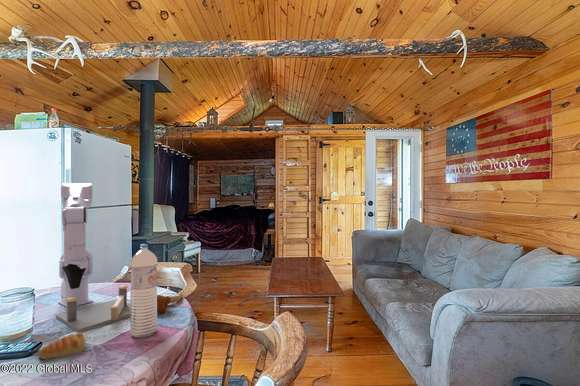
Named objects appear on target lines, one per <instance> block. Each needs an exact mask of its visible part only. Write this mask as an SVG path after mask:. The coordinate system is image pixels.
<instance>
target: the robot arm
mask: <svg viewBox="0 0 580 386" xmlns="http://www.w3.org/2000/svg"><path fill="white" fill-rule="evenodd" d="M60 198H61V204H62V207H64V208H63V209H62V210H61V222H62V223H61V224H62V231H63V254H62V255H61V256H60V259H59V260H58V263H59V268H58V270H59V271H58V273H59V274H58V276H59V278H60V279H62V282H61V284H60V300H58V301H57V303H59V304H60V305H62V306H64V307H66V308H67V302H66V299H67V298H71V297H77V298H78V300H77V307H78V306H80V305H85V304H89V303H92V302H94V299H91V298H89V278H90V277H89V276H92V275H93V272H94V271H93V254H92V252H89V251H88V250H86V248H87V247H86V244H87V243H86V239H87V238H86V237H87V236H86V232H87V231H86V230H87V229H86V227H87V226H86V225H87V223H88V208H91V207H92V204H93V183H92V182H91V183H89V182H88V183H80V182H78V183H73V182H72V183H68V182H63V183H61V185H60Z"/></svg>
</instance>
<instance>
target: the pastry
mask: <svg viewBox="0 0 580 386" xmlns="http://www.w3.org/2000/svg"><path fill="white" fill-rule="evenodd" d="M85 339H86V338H85V335H84V333H83V332H80V333H79V332H77V334H70V335H67V336H63V337H61V338H60V339H57V340H55V341H54V342H53V341H52V342H50V343H49V344H48V345H47V344H46V345H45V346H44V347H43V346H42V348H41V349H40V350H39V353H38V358H40V359H43V360H50V359H57V358H63V357H67V356H72V355H75V354H78V353H81V352H84V351H85V350H86V348H87V343H86V340H85Z"/></svg>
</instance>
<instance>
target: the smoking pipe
mask: <svg viewBox="0 0 580 386" xmlns="http://www.w3.org/2000/svg"><path fill="white" fill-rule="evenodd" d="M181 298H183V294H182V293H178V294H177V295H172V296H169V295H168V296H164V295H161V294H157V314H160V313H165V312H166V311H167V310H168V305H169V304H173V303H177V302H179V301H180V300H181Z"/></svg>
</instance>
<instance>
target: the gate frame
mask: <svg viewBox="0 0 580 386" xmlns="http://www.w3.org/2000/svg"><path fill="white" fill-rule="evenodd" d="M117 288H118V298H119V296H120V295H124V307H123V308H122V310H121V312H120V314H119V318H118V319H116V320H111V307H112V306H114V304H115V302H116V301H117V299H118V298H114V299H110V300H106V301H103V302H99V303H95V304H92V305H91V304H90V305H87V306H83V307H80V308H77V307H78V306H77V300H78V298H77V297H71V298H67V299H66V302H67V307H66V311H64V312H61V313H57V314H55V319H57V320H59V321H60V322H61V323H63V324H65V325H67V326H68V327H70V328H71V329H73V330H74V331H76V332H77V333H83V332H86V331H89V330H90V331H91V330H92V329H95V328H98V327H102V326H106V325H107V324H112V323H115V322H117V321H121V320H123V319H127V318H131V317H130V316H131V314H130V312H131V311H130V309H131V307H130V306H131V304H130V303H131V302H128V298H127V297H128V285H124V284H123V285H119V286H118V287H117Z"/></svg>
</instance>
